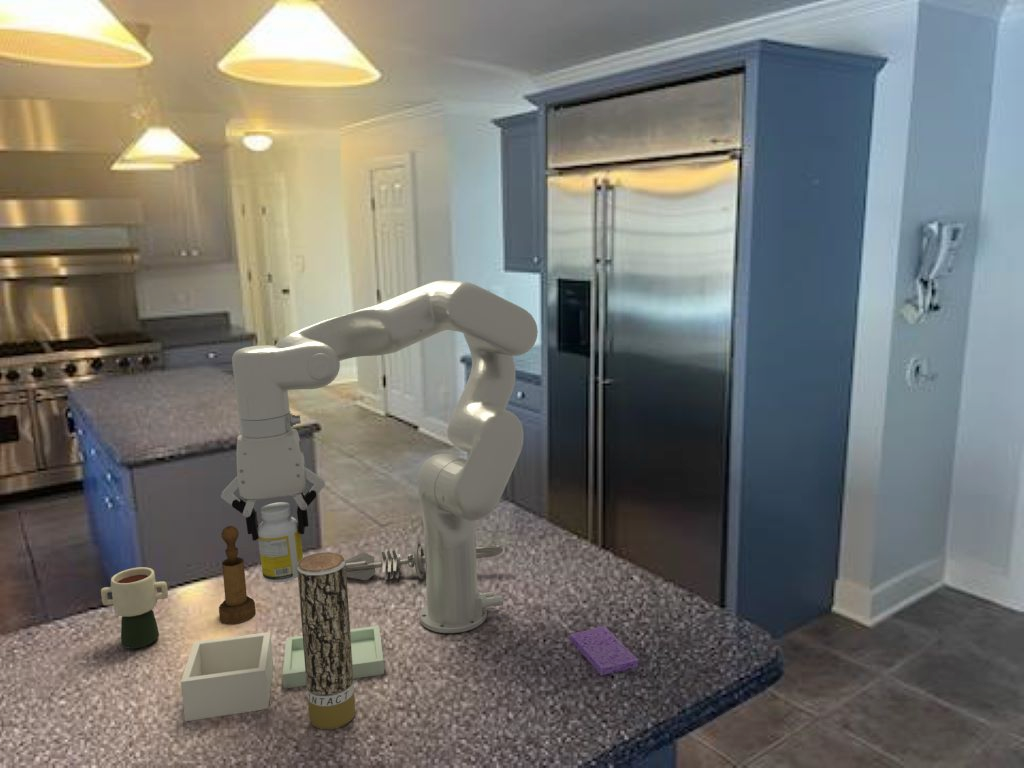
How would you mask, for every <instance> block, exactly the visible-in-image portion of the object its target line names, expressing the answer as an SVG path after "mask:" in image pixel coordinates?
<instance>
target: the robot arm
mask: <svg viewBox="0 0 1024 768" xmlns="http://www.w3.org/2000/svg"><path fill="white" fill-rule="evenodd" d="M443 331H453V332H459V333H461V334H463V337H464V338H465V341H466V343H467V345H468V349H469V351H470V356H471V370H470V373H469V376H468V379H467V382H466V385H465V386H464V389H463V390H462V392H461V395H460V397H459V400H458V402H457V404H456V405H455V408H454V411H453V413H452V415H451V417H450V419H449V421H448V426H447V433H446V434H447V437H448V440H449V441H450V443H451V444H452V445H453V446H455V447H456V448H457V449H459V450H460V451H463V452H465V453H468V457H467V459H465V458H462V457H459V456H457V455H453V454H450V453H438V454H434V455H431V456H430V457H429V458H427V459H426V460H424V462H423V463H422V465H421V466H420V468H419V470H418V474H417V479H416V486H417V488H416V489H417V493H418V499H419V503H420V507H421V508H420V509H421V514H422V520H423V521H422V522H423V536H424V537H423V538H424V555H425V562H426V563H425V578H426V579H425V580H426V604H425V605H424V606H423V607H422V608H421V609H420V611H419V622H420V625H422V626H423V627H424V628H426V629H427V630H430V631H432V632H434V633H441V634H459V633H464V632H468V631H470V630H473V629H476V628H477V627H479V626H481V625H482V624H483V623H484V622H485V621H486V618H487V609H488V608H491V607H501V606H502V607H503V605H504V599H503V595H502V594H499V595H498V594H497V595H494V591H487V592H482V591H479V588H478V568H477V567H478V566H477V565H478V564H477V560H478V558H476V548H477V529H476V522H477V521H481V520H482V519H485V518H486V517H488V516H489V515H490V514H491V513H492V512H493V511H494V510H495V508H496V507H497V505H498V503H499V502H500V500H501V498H502V496H503V493H504V492H505V489H506V486H507V485H508V482H509V480H510V478H511V476H512V473H513V471H514V469H515V467H516V464H517V462H518V459H519V457H520V455H521V454H522V453H521V452H522V449H523V445H524V428H523V424H522V422H521V420H520V419H519V417H518V416H517V415H516V414H515V413H514V412H511V411H510V410H507V409H506V408H507V407H508V404H509V401H510V399H511V396H512V394H513V391H514V388H515V383H516V366H515V360H514V358H513V357H518V356H521V355H524V354H526V353H528V352H529V351H530V350H531V349H533V347H534V346H535V343H536V342H537V340H538V339H537V338H538V331H539V330H538V324H537V322H536V320H535V318H534V316H533V315H532V314H531V313H530V312H529V311H528V310H526V309H525V308H524V307H521V306H520V305H518V304H515V303H513V302H511V301H509V300H507V299H505V298H503V297H501V296H499V295H497V294H495V293H493V292H491V291H489V290H487V289H485V288H484V287H481V286H479V285H477V284H475V283H473V282H467V281H459V280H446V279H445V280H444V279H441V280H435V281H431V282H429V283H426V284H424V285H422V286H419V287H417V288H415V289H414V288H413V289H411V290H409V291H407V292H405V293H402V294H400V295H397V296H395V297H392V298H390V299H387V300H385V301H382V302H379V303H377V304H374V305H372V306H369V307H365V308H361V309H357V310H355V311H352V312H349V313H346V314H343V315H339V316H336V317H332V318H329V319H326V320H322V321H320V322H317V323H315V324H312V325H310V326H307V327H304V328H301V329H300V330H297V331H295V332H292V333H290V334H288V335H286V336H284V337H282V338H281V339H279V341H277V342H276V344H275V345H271V344H270V345H268V344H266V345H265V344H264V345H262V344H261V345H251V346H246V347H243V348H239V349H237V350H235V352H234V353H233V355H232V357H231V361H232V363H231V364H232V365H231V366H232V371H233V379H234V381H233V382H234V387H235V388H234V389H235V394H236V395H235V396H236V402H237V411H238V419H239V427H240V433H241V434H239V435H238V436H237V440H236V474H237V476H235V477H234V479H233V480H232V481H230V482H229V484H228V485H226V487H225V488H224V489H223V490H222V491H221V494H220V498H221V499H222V500H223V501H225V502H226V503H227V504H229V505H230V506H232V508H234V509H235V510H236V511H238V512H239V513H240V514H242V516H243V517H244V518H245V521H246V522H245V523H246V531H247V535H251V538H252V541H254V542H255V541H258V535H257V529H258V526H259V521H258V514H257V512H258V511H256V510H255V503H256V502H257V500H267V499H274V498H275V499H276V498H282V497H289V496H290V497H292V498H293V499H294V501H295V503H296V504H297V509H296V516H297V521H298V525H299V533H300V535H305V528H307V527H309V516H308V507H309V506H310V505H311V503H313V501H314V500H315V499H316V497H317V496H318V494H319V493H320V492H321V491H322V490H323V488H324V487H325V486H326V481H325V479H324V478H322V476H321V477H320V476H319V475H318V474H316V473H315V472H314V471H312V470H311V469H309V468H307V467H306V461H305V455H304V450H303V445H302V442H301V438H300V435H299V432H298V430H297V428H294V426H296V425H300V424H301V423H302V422H301V415H299V414H298V415H296V414H293V413H291V410H290V403H289V402H290V400H289V393H288V392H289V391H292V390H295V391H297V390H298V391H299V390H317V389H321V388H324V387H326V386H328V385H330V384H331V383H333V381H335V380H336V378H337V376H338V374H339V372H340V367H341V365H340V363H341V361H344V360H347V359H349V360H350V359H352V358H357V357H358V358H359V357H371V356H372V357H373V356H375V357H377V356H378V357H379V356H384V355H389V354H394V353H396V352H399V351H401V350H403V349H406V348H408V347H410V346H412V345H414V344H417V343H419V342H421V341H423V340H425V339H428V338H430V337H432V336H434V335H437V334H440V332H443ZM307 481H308V482H310V483H311V484H313V485H312V486H311V488H310V489H309V490H308V491H307V492H306V493H305V490H306V488H307V487H306V486H307V485H306V484H307ZM237 490H238V493H239V496H240V497H237V496H236V495H235V494H234V493H235V492H236V491H237ZM244 500H246V502H245V501H244Z"/></svg>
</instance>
